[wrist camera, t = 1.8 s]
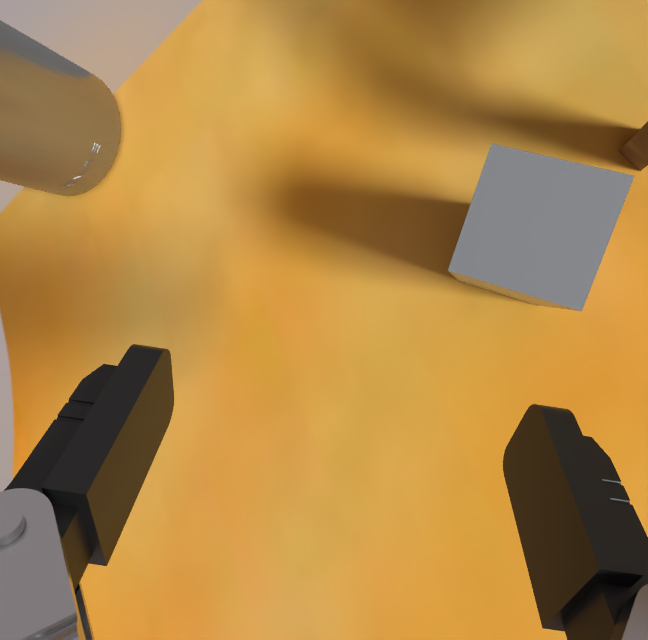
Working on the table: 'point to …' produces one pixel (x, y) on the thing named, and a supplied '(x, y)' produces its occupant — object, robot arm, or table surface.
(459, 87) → the table surface
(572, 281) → the basalt block
